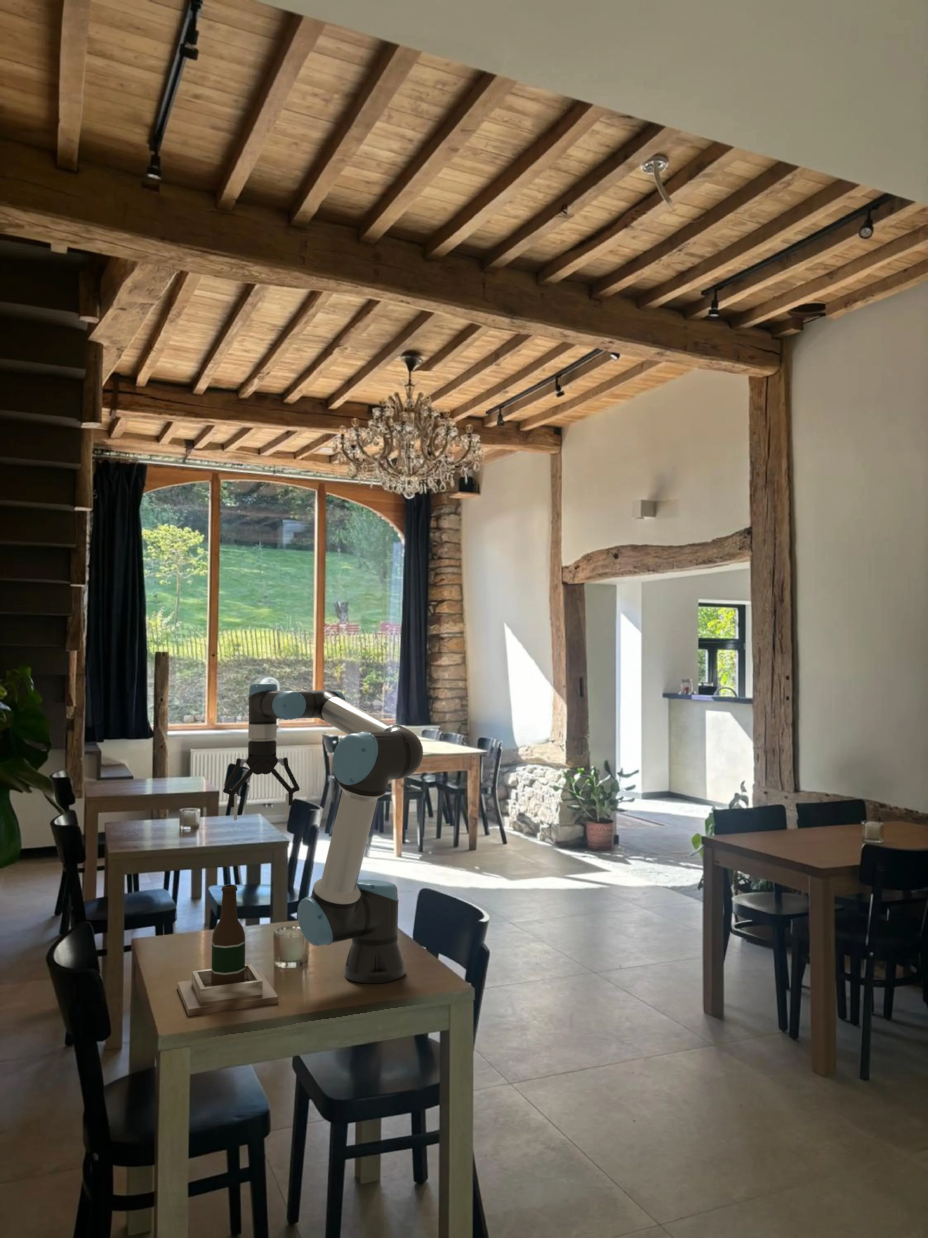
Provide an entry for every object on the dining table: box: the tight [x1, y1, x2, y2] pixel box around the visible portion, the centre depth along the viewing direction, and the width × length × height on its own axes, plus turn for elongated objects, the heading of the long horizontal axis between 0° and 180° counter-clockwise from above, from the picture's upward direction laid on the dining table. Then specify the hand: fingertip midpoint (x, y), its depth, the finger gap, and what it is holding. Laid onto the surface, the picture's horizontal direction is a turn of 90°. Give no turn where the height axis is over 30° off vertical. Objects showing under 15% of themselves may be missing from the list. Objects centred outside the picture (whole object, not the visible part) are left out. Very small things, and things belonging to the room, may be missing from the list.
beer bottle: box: [210, 883, 246, 986], centre depth 217 cm, size 8×8×24 cm
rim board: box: [177, 963, 279, 1017], centre depth 217 cm, size 20×20×4 cm
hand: (261, 818), depth 249 cm, fingers open, 13 cm apart
